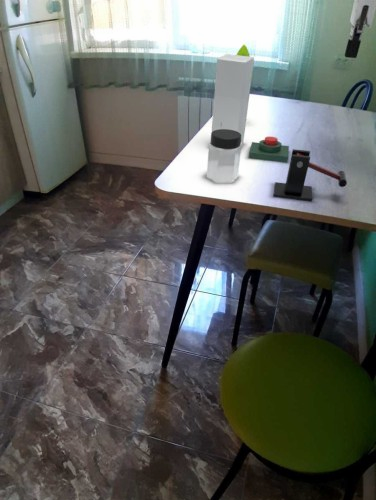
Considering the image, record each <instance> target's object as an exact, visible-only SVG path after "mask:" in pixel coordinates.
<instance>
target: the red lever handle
mask: <svg viewBox="0 0 376 500" xmlns="http://www.w3.org/2000/svg"><path fill="white" fill-rule="evenodd" d="M296 155H301V156H304V155H302V154H299V153H297V154H296ZM308 169H311V170H313V171H316V172H318V173H321V174H322V175H325V176H328V177H330V178H333V179H335V180H337V183H338V187H340V188H344V187H346V186H347V184H348V183H347V182H348V181H347V177H346V172H345V171H344V170H340V171H338V172H334V171H332V170H329V169H328V168H325V167H323V166H320V165H318V164H316V163H313V162H311V161H310V162H309V166H308Z"/></svg>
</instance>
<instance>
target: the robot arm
mask: <svg viewBox="0 0 376 500" xmlns="http://www.w3.org/2000/svg"><path fill="white" fill-rule="evenodd" d="M375 14H376V0H353V5H352V9H351V14H350V20H349V22H350V24H351V29H350V33H349V38H348V40H347V43H346V48H345V51H344V57H345V58H349V59H357V58H358V53H359V49H360V46H361V43H362V37H363V33H364V30H365V27H367V28H371V27H372V26H373V23H374V18H375Z"/></svg>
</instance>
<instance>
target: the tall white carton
mask: <svg viewBox="0 0 376 500" xmlns="http://www.w3.org/2000/svg"><path fill="white" fill-rule="evenodd" d="M254 61H255V57H254V56H250V57H248V56H240V55H237V54H231V53H225V54H224V55H222V56H221V55H220V57H218V58H216V70H215V80H214V81H215V83H214V94H213V106H212V119H211V133H212V132H213V131H215V130H219V129H228V130H234V131H237V132H239V133H240V134H241V145H242V146H243V145H244V141H245V133H246V125H247V117H248V110H249V101H250V93H251V85H252V79H253V77H252V72H253V69H254ZM211 133H210V134H211Z"/></svg>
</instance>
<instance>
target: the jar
mask: <svg viewBox="0 0 376 500" xmlns="http://www.w3.org/2000/svg"><path fill="white" fill-rule="evenodd" d="M211 132H212V131H211ZM242 146H243V145H241V134H240V133H239V132H237V131H234V130H228V129H219V130H215V131H213V132H212V133H210V143H209V144H208V153H207V165H206V166H207V167H206V178H208V179H209V180H210V181H212V182H213V183H215V184H232V183H234V182H235V181H236V180H237V179H238V178H239V169H240V161H241V153H242Z"/></svg>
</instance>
